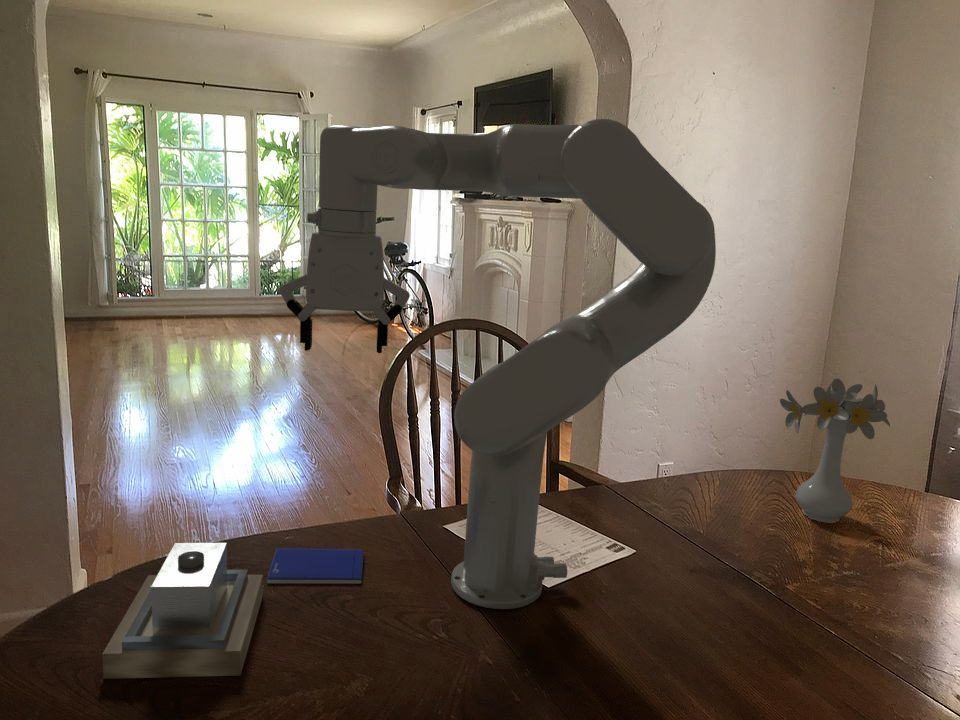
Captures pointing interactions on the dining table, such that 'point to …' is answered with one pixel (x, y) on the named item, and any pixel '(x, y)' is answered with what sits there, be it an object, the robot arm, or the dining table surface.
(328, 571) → the hard drive
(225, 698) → the dining table surface
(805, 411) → the flower vase
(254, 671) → the dining table surface
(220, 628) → the stand
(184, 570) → the block
